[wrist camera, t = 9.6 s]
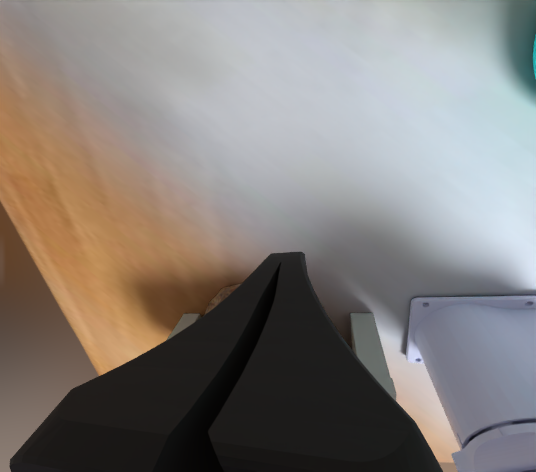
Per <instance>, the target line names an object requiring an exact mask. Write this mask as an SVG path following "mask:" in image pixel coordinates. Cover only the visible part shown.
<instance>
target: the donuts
mask: <svg viewBox="0 0 536 472" xmlns="http://www.w3.org/2000/svg"><path fill="white" fill-rule="evenodd" d="M533 68H534V74H535V78H536V35H535V41H534V47H533Z"/></svg>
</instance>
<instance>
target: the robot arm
mask: <svg viewBox="0 0 536 472" xmlns="http://www.w3.org/2000/svg"><path fill="white" fill-rule="evenodd" d="M423 303H426V304H423ZM406 359H407V361H408V362H410V363H424V364H425V366H426V369H427V371H428V373H429V376H430V378H431V380H432V383H433V385H434V388H435V390H436V392H437V395H438V397H439V399H440V402H441V404H442V407H443V409H444V411H445V414H446V416H447V418H448V421H449V423H450V426H451V428H452V430H453V433H454V435H455V437H456V440H457V442H458V445H459V447H460V449H461V450H460V451H458V452H455V453H452V454H451V455H452V458H453V460H454V463H455V465H456V468H457V470H458V472H536V296H482V297H423V298H414V299H413V300H412V301H411V307H410V318H409V328H408V339H407V350H406ZM10 469H11V472H443V471H442V469H441V467H440V465H439V463H438V461H437V459H436V458H435V456H434V454H433V452H432V450H431V448H430V447H429V445H428V443H427V441H426V440H425V438H424V436H423V434H422V433H421V431H420V429H419V427H418V426H417V424H416V423H415V421H414V420H413V419H412V418H411V417H410V416H409V415H408V414H407V413H406V412H405V410H404V409H403V408H402V407H401V406H400V405H399V404H398V403H397V402H396V401H395V400H394V399H393V398H392V397H391V395H390V394H389V393H388V392H387V391H386V390H385V389H384V388H383V387H382V386H381V384H380V383H379V382H378V381H377V380H376V379H375V378H374V376H373V375H372V374H371V373H370V372H369V370H368V369H367V368H366V367H365V366H364V365H363V363H362V362H361V361H360V360H359V358H358V357H357V356H356V355H355V353H354V352H353V351H352V349H351V348H350V347H349V345H348V344H347V343H346V341H345V340H344V339H343V338H342V336H341V335H340V333H339V332H338V331H337V329H336V328H335V326H334V325H333V323H332V322H331V320H330V318H329V317H328V315H327V314H326V312H325V310H324V309H323V307H322V305H321V303H320V301H319V299H318V297H317V295H316V293H315V291H314V289H313V287H312V285H311V282H310V280H309V277H308V274H307V268H306V260H305V254H304V253H302V252H289V253H274V254H270V255H269V256H268V257H267V258H266V259H265V260H264V261H263V262H262V263H261V265H260V266H259V267H258V268H257V269H256V270H255V271H254V272H253V273H252V274H251V275H250V276H249V277H248V278H247V279H246V280H245V281H244V282H243V283H242V284H241V285H240V286H239V287H237V288H236V289H235V290H234V291H233V292H232V293H231V294H230V295H229V296H228V297H227V298H225V299H224V300H223V301H222V302H221V303H219V304H218V305H217V306H216V307H215V308H213V309H212V310H211V311H209V312H208V313H207V314H205V315H204V316H203V317H201V318H200V319H199V320H197V321H196V322H194V323H193V324H191V325H190V326H188V327H187V328H185V329H184V330H182V331H180V332H179V333H177V334H176V335H174V336H173V337H171V338H170V339H168V340H166V341H165V342H163V343H161V344H160V345H158V346H156V347H155V348H153V349H151V350H149V351H147V352H146V353H144V354H142V355H140V356H138V357H137V358H135V359H133V360H131V361H129V362H127V363H125V364H123V365H121V366H119V367H117V368H115V369H113V370H111V371H109V372H107V373H105V374H103V375H101V376H99V377H97V378H95V379H92V380H90V381H88V382H86V383H84V384H82V385H80V386H78V387H75V388H73V389H72V390H71V391H70V392H69V393H68V394H67V395H66V396H65V398H64V399H63V400H62V401H61V402H60V403H59V404H58V406H57V407H56V408H55V409H54V410H53V411H52V412H51V414H50V415H49V416H48V417H47V418H46V419H45V420H44V422H43V423H42V424H41V425H40V426H39V427H38V429H37V430H36V431H35V432H34V433H33V434H32V435H31V437H30V438H29V439H28V440H27V441H26V442H25V444H24V445H23V446H22V447H21V448H20V449H19V450H18V451H17V453H16V454H15V455H14V456H13V457H12V458H11V459H10Z"/></svg>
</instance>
